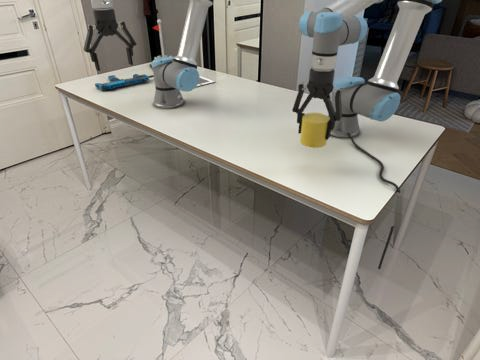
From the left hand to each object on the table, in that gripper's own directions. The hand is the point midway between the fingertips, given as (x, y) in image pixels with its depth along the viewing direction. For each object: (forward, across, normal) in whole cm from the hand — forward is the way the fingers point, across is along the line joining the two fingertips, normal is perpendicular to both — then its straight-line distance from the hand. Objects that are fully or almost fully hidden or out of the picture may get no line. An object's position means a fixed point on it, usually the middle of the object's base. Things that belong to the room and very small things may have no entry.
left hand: (115, 67), depth 137 cm
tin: (+17, +38, -74) cm, 85 cm away
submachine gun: (+27, +26, +66) cm, 76 cm away
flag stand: (+27, +65, +87) cm, 112 cm away
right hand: (+14, +38, -74) cm, 84 cm away
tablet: (+27, +60, +47) cm, 81 cm away
